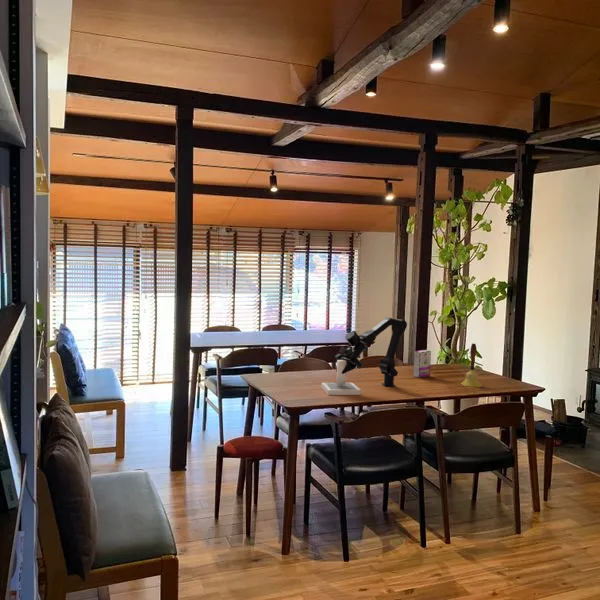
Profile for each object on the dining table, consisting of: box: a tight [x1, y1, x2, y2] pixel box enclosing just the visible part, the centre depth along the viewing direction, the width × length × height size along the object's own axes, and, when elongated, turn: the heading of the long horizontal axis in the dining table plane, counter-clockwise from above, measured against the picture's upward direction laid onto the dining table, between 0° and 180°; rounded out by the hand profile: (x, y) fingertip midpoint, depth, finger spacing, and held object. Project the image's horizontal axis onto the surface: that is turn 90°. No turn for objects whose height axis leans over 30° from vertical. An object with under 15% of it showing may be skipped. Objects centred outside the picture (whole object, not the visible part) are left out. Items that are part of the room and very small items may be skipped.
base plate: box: [320, 382, 362, 396], centre depth 309 cm, size 18×18×3 cm
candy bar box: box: [413, 349, 432, 379], centre depth 356 cm, size 11×5×16 cm, turn 129°
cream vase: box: [335, 359, 347, 385], centre depth 308 cm, size 5×5×13 cm
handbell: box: [460, 343, 483, 388], centre depth 335 cm, size 12×12×25 cm
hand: (339, 372), depth 307 cm, fingers closed on cream vase, 5 cm apart
